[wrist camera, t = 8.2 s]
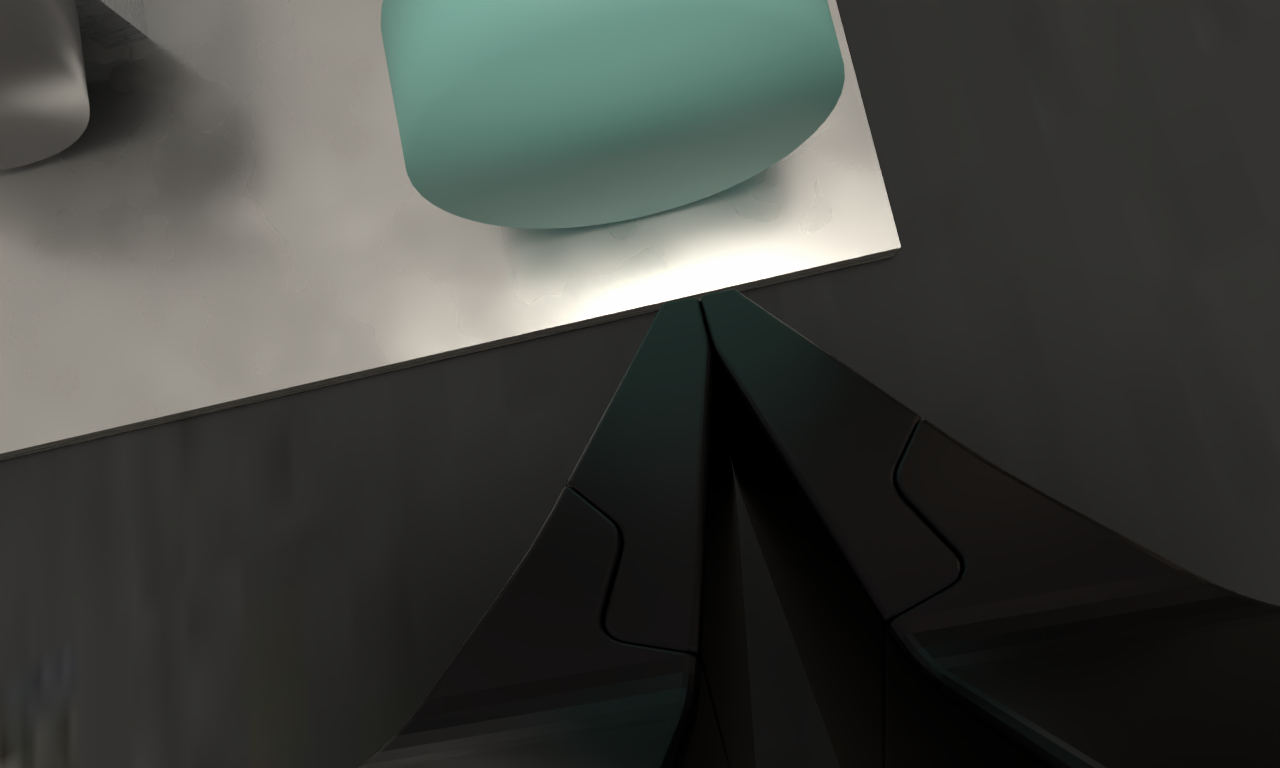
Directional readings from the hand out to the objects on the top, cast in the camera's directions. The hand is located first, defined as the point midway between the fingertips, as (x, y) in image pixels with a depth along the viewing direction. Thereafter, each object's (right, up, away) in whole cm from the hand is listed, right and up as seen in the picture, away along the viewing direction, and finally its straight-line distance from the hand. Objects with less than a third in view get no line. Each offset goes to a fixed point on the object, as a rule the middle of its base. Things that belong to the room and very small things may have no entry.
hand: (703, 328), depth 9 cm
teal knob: (-2, +9, +9) cm, 13 cm away
